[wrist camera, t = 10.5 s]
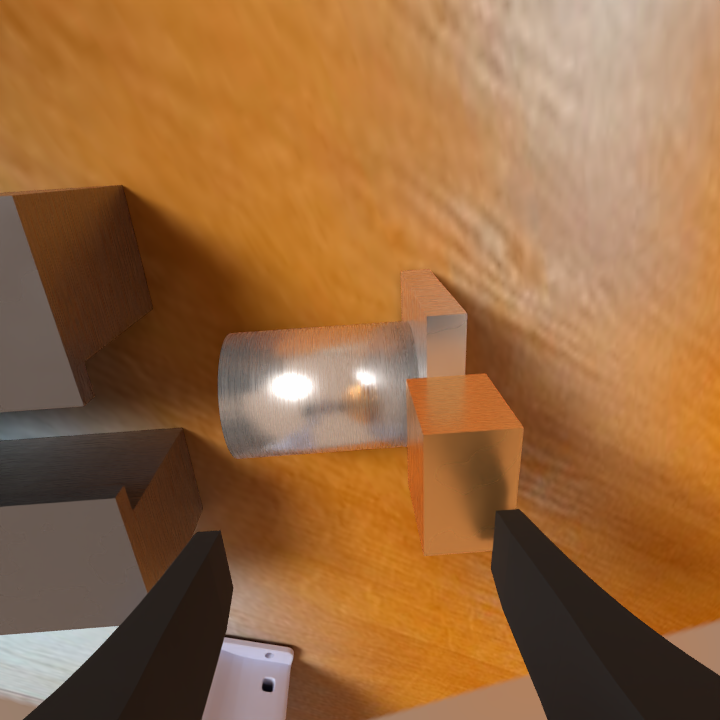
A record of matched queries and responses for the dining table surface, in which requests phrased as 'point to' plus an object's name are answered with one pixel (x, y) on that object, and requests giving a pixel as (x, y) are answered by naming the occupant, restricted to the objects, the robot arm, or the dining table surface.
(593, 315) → the dining table surface
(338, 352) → the end cover
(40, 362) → the housing
